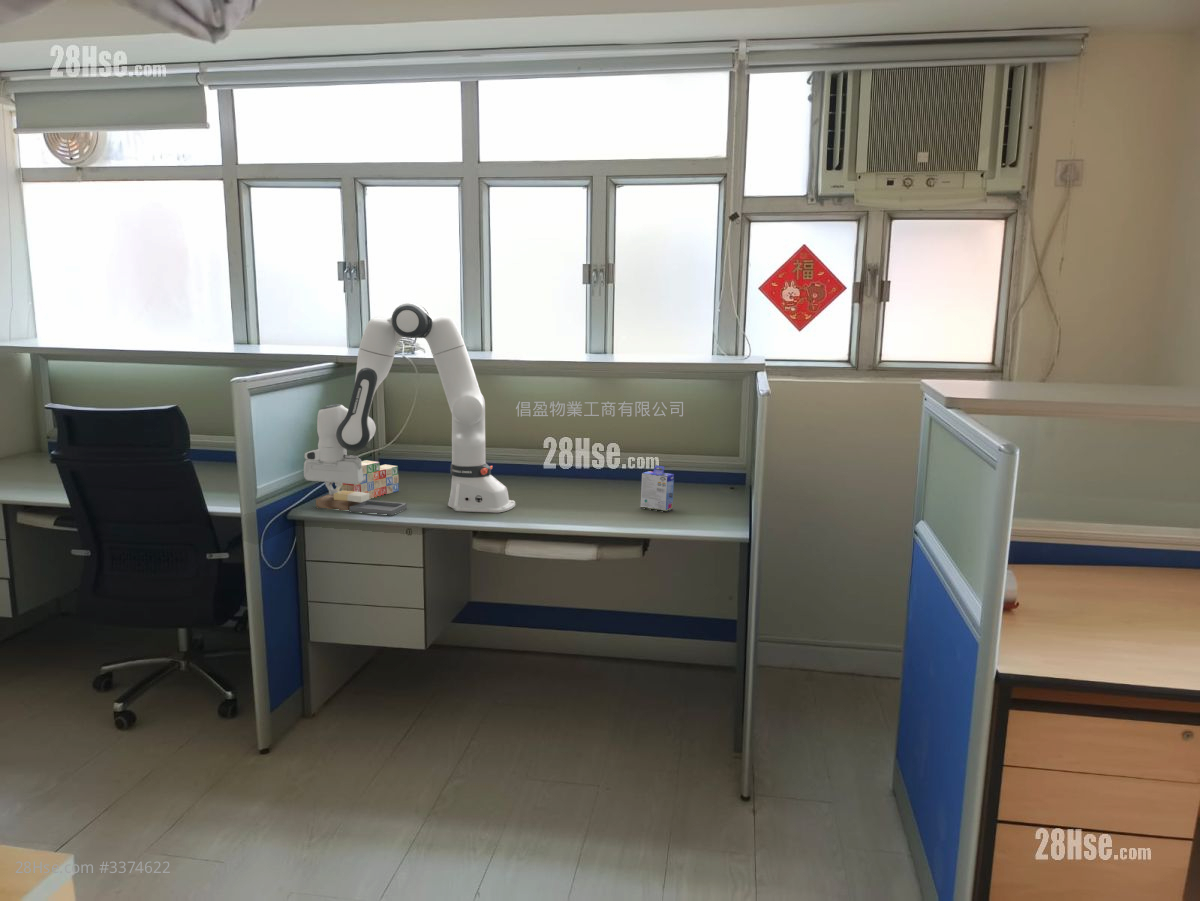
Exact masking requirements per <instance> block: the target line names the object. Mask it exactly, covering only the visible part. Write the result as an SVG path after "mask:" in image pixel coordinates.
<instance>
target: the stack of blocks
mask: <svg viewBox="0 0 1200 901" xmlns="http://www.w3.org/2000/svg"><path fill="white" fill-rule="evenodd" d="M361 463H362V466H361V467H362V472H363V481H362V482H361V483H359V484H345V483H342V487H341V488H340V491H342V490H344V491H355V492H364V493H369V499H368V500H372V499H374V497H375V498H378V497H377V496H379V497H382V496H385V495H384V494H386V495H388V494H393V493H396V492H399V490H400V486H399V479H400V478H399V466H398V465H392V464H381V465H380V462H379V461H375V460H365V459H364V460H361ZM381 495H382V496H381ZM371 498H372V499H371Z"/></svg>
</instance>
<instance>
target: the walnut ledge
mask: <svg viewBox="0 0 1200 901" xmlns="http://www.w3.org/2000/svg"><path fill="white" fill-rule="evenodd" d="M357 503H360V502H353V501H343V500H334V496H333V495H329V493H328V494H325V495H324V496H320V497H318V498H316V499H315V508H316V507H318V508H317V509H319V508H327V509H326V510H330V509H339V510H338V511H341V510H349V507H350V506H352V505H355V504H357Z"/></svg>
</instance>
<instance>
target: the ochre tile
mask: <svg viewBox="0 0 1200 901" xmlns="http://www.w3.org/2000/svg"><path fill="white" fill-rule="evenodd" d="M353 492H355V491H344V490H342V491H341V490H340V491H339V492H337V493H334V500H343V501H347V495H348V494H351V493H353Z"/></svg>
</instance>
